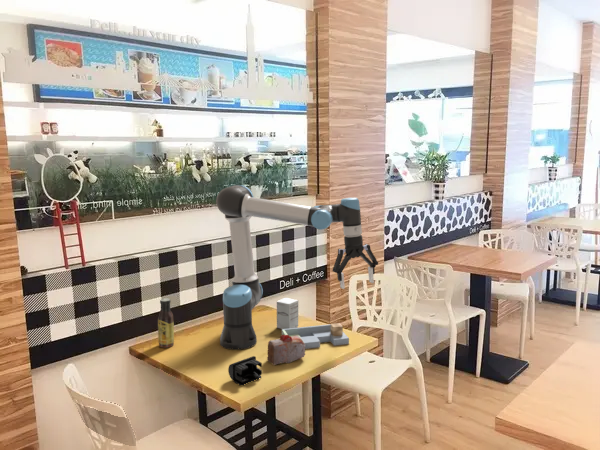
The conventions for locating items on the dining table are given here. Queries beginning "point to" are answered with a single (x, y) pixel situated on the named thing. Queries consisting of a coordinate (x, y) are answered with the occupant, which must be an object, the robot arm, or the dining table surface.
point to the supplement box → (287, 313)
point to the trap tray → (316, 335)
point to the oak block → (336, 329)
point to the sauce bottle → (165, 325)
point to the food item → (285, 349)
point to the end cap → (245, 370)
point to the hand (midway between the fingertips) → (357, 285)
